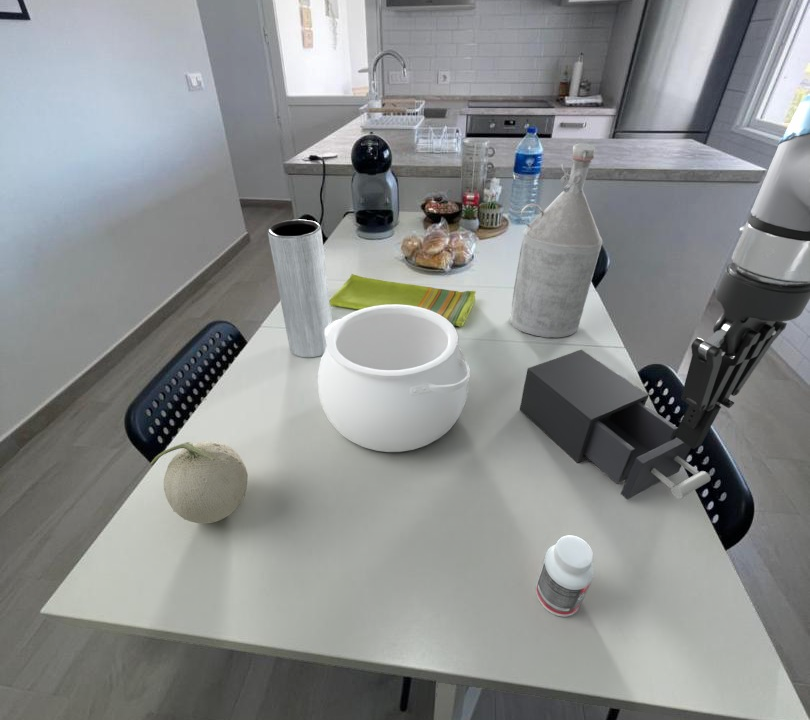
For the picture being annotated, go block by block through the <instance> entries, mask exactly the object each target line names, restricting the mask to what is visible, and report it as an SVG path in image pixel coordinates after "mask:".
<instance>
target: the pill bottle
mask: <svg viewBox="0 0 810 720" xmlns="http://www.w3.org/2000/svg"><path fill="white" fill-rule="evenodd" d="M593 562H594V553H593V549H592V548H591V546H590V544H589V543H587V541H585V540H584V539H582V538H581V537H579V536H576V535H572V534H571V535H569V534H568V535H564V536H561V537H559V539H558V540H557V542H556V543H555V544H553V545H551V546H550V547H549V548H548V549H547V551H546V553H545V555H544V558H543V561H542V565H541V568H540V571H539V575H538V577H537V580H536V584H535V593H536V597H537V599H538V601H539V603H540V605H541V606H542V607H543V608H544V609H545V610H546V611H547V612H548V613H550V614H552V615H554V616H557V617H565V618H567V617H571V616H573V615H575V614H576V613H577V612H578V610H579V608H580V607H581V605H582V603H583V601H584V598H585V596H586V594H587V592H588V589H589V587H590V585H591V583H592V581H593V578H594V573H595V572H594V571H595V570H594V565H593Z"/></svg>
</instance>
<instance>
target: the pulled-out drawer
mask: <svg viewBox="0 0 810 720" xmlns="http://www.w3.org/2000/svg"><path fill="white" fill-rule="evenodd" d="M677 429H678V427H677V426H676V425H674V424H673V423H672V422H670V421H669V420H668V419H666V418H664V417H663V416H661V415H660V414H659V413H658V412H656V411H655V410H653V409H652V408H650V407H649V406H647V405H646V404H645V405H644V404H643V403H641V402H638V403H636V404H634V405H631V406H629V407H627V408H624V409H622V410H620V411H617V412H615V413H613V414H611V415H608V416H606V417H604V418H601V419H599V420H597V421H595V422H594V423H593V426H592V429H591V432H590V435H589V438H588V441H587V444H586V447H585V450H584V453H583V454H584V455H585V456H586V457H587V459H588V460H590V461H591V462H592V463H593V464H594V465H595V466H596V467H597V468H599V469H600V470H601V471H602V473H604V474H605V475H606V476H607V477H608V478H609V479H610V480H612V481H613V482H614V483H615V484H616V485H619V484H621V483H622V482H625V483H624V485H623V487H622V490H621V492H620V495H621V496H622V497H623V498H624V499H626V500H629V499H632V498H633V497H635V496H636V495H639V494H640V493H643V492H644V491H646V490H648V489H650V488H651V487H653V486H655V485H656V484H658V483H661V482H662V483H663V484H665V485H666V486H667V487H668V488H669V489H670V492H671V494H672V495H673V496H674V498H676V499H682V498H683V497H685V496H687V495H689V494H690V493H692V492H694V491H696V490H697V489H700V487H702V486H704V485H706V484H707V483H709V482H710V481H711V475H710V474H709V472H706V471H704V470H701V471H699V470H698V469H697V468H695V467H694V466H692V464H689V463H688V462H687V461H686V458H687V456H688V455H689V453H690V451H691V450H692V448H691V447H689V446H688V445H687V444H685V443H684V442H683V441H681V440H680V439H678V438H677V437H675V436H674V435H675V433H676V431H677ZM682 467H683V468H684V469H686V470H687V471H688V472H689V473H690V474H692V476H690V477H688V478H686V479H684V480H682V481H680V482H679V483H676V484H675V483H674V482H673V481H671V480H670V479H669V477H671V476H673V475H675V474H677V473H678V472H680V469H681V468H682Z"/></svg>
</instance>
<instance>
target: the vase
mask: <svg viewBox="0 0 810 720" xmlns="http://www.w3.org/2000/svg"><path fill="white" fill-rule="evenodd" d="M267 235H268V242H269V246H270V252H271V258H272V263H273V267H274V268H273V269H274V272H275V273H274V274H275V278H276V283H277V288H278V294H279V300H280V305H281V311H282V315H283V321H284V326H285V331H286V336H287V342H288V346H289V347H288V348H289V350H290V351H291V353H292V355H293V354H294V355H295V356H297V357H301V358H317V357H322V356H323V354H324V352H325V348H326V347H327V344H326V339H325V334H324V330H325V328H326V327H327V326H328V325H329V324H330V323H332V322H333V318H332V310H331V305H330V293H329V292H330V291H329V285H328V283H329V282H328V277H327V276H328V275H327V268H326V259H325V250H324V241H323V233H322V226H321V225H320V224H319V223H318V222H316V221H313V220H307V219H292V220H290V219H289V220H284V221H281V222H277V223H275V224H273V225H271V226H270V227H269V228H268V229H267Z"/></svg>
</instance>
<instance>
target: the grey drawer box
mask: <svg viewBox="0 0 810 720" xmlns="http://www.w3.org/2000/svg"><path fill="white" fill-rule="evenodd" d="M522 390H523V391H522V396H521V399H520V406H519V411H520V412H521V413H522V414H524V415H525V416H526V417H527V418H528V419H529V420H530V421H531V422H532V423H533V424H534V425H536V426H537V428H539V429H540V430H541V431H542V432H543V433H544V434H545V435H546V436H547V437H549V439H551V440H552V441H553V442H554V443H555V444H556V445H557V446H558V448H560V449H561V450H563V452H565V454H567V455H568V456H569V457H570V458H571V459H572V460H573V461H574V462H575V463H576V464H579V463H581V462H583V461H586V459H588V458H587V457H586V456H585V455H584V454H583V453H584V450H585V447H586V444H587V441H588V438H589V435H590V432H591V429H592V426H593V423H594V422H595V421H597V420H599V419H601V418H604V417H606V416H608V415H611V414H613V413H615V412H617V411H620V410H622V409H624V408H627V407H629V406H631V405H634V404H636V403H638V402H641V403H643V404H644V405H646V403H647V401H648V398H649V396H650V394H649V393H647V392H646V391H644V390H643V389H641V388H640V387H639V386H637V385H635V384H634V383H633V382H631V381H629V380H628V379H627V378H625V377H623V376H621V375H620V374H619V373H618V372H616V371H614V370H613V369H612V368H610V367H608V366H607V365H606V364H604V363H602V362H601V361H600V360H598V359H597V358H595V357H593V356H592V355H591V354H589V353H587V352H586V351H585V350H583V349H579V350H576V351H573V352H570V353H567V354H564V355H562V356H559V357H555V358H552V359H550V360H547V361H545V362H542V363H539V364H536V365H533V366H530V367H527V369H526V373H525V380H524V385H523V389H522Z"/></svg>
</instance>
